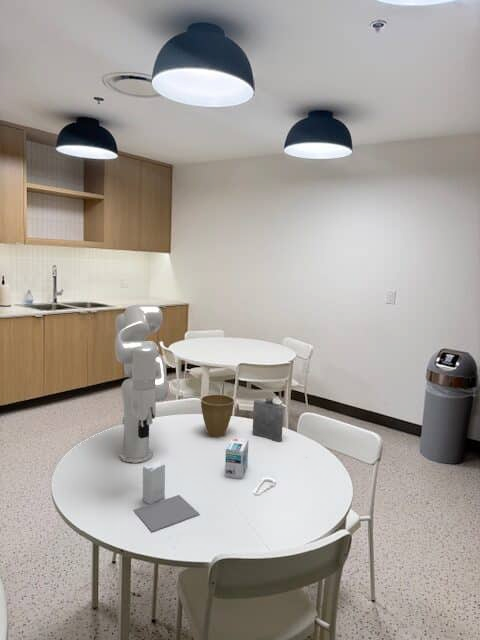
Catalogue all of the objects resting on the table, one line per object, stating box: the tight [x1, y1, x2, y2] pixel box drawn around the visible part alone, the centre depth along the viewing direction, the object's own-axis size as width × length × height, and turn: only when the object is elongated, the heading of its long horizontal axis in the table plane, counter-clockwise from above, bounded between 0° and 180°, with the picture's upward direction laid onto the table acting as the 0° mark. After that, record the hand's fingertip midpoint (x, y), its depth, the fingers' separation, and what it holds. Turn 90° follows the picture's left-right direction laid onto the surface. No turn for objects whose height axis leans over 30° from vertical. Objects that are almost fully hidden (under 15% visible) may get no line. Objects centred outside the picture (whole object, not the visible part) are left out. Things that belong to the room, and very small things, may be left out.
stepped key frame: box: [252, 476, 277, 497], centre depth 156 cm, size 13×5×2 cm, turn 158°
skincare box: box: [142, 460, 166, 505], centre depth 145 cm, size 6×4×12 cm
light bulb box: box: [224, 437, 249, 480], centre depth 166 cm, size 11×7×11 cm, turn 168°
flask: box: [251, 397, 284, 443], centre depth 198 cm, size 4×14×18 cm, turn 58°
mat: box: [133, 494, 200, 533], centre depth 139 cm, size 13×16×1 cm
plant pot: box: [200, 394, 235, 438], centre depth 199 cm, size 15×15×16 cm
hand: (143, 436), depth 149 cm, fingers closed
